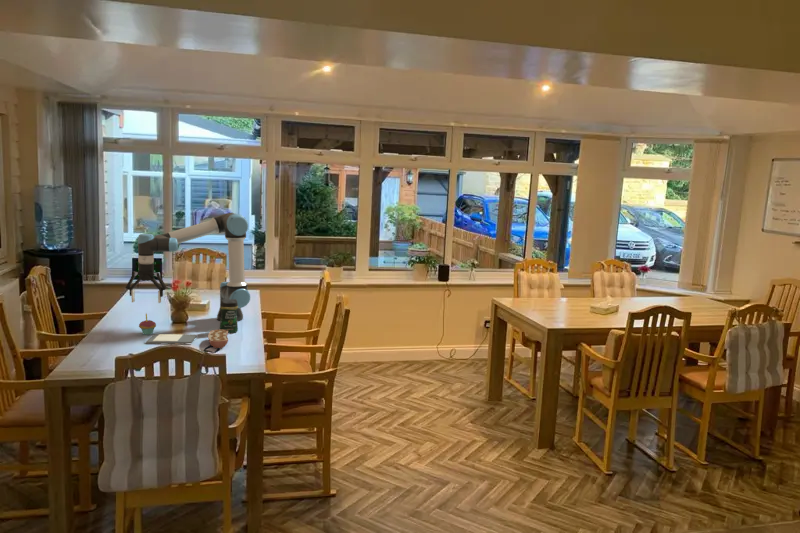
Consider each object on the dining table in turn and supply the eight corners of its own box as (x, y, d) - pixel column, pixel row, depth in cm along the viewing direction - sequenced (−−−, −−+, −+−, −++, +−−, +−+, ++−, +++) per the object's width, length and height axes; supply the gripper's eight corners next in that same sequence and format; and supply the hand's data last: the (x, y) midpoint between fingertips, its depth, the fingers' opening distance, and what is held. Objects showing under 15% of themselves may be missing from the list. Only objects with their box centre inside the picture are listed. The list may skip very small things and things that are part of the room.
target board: (196, 336, 314) (196, 334, 314) (190, 344, 300) (190, 341, 300) (154, 336, 311) (153, 333, 311) (146, 343, 298) (145, 341, 297)
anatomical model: (228, 350, 294) (228, 340, 293) (207, 351, 291) (207, 341, 290) (228, 338, 316) (228, 329, 315) (208, 338, 313) (208, 329, 312)
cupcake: (153, 335, 313) (153, 313, 311) (137, 335, 312) (136, 313, 310) (157, 331, 322) (157, 309, 320) (141, 331, 320) (140, 309, 318)
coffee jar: (220, 334, 321) (220, 301, 319) (219, 330, 329) (219, 298, 326) (238, 333, 325) (238, 300, 322) (237, 329, 332) (237, 297, 330)
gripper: (118, 263, 306) (119, 303, 309) (168, 264, 309) (168, 304, 312) (123, 261, 313) (124, 300, 316) (172, 262, 316) (172, 301, 319)
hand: (146, 302), depth 314 cm, fingers open, 13 cm apart
